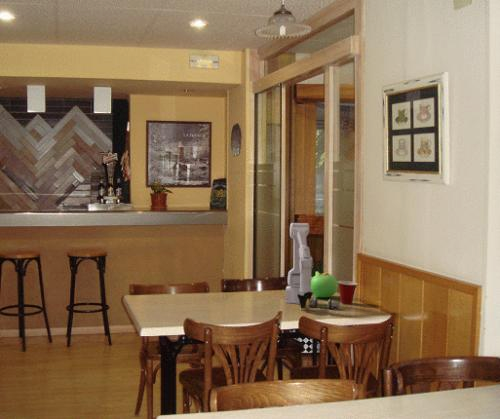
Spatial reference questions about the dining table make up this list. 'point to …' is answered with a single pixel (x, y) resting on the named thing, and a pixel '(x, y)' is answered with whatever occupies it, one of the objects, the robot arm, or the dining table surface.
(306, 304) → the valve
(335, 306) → the grey metal fittings
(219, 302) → the dining table surface
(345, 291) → the plastic cup
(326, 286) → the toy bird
